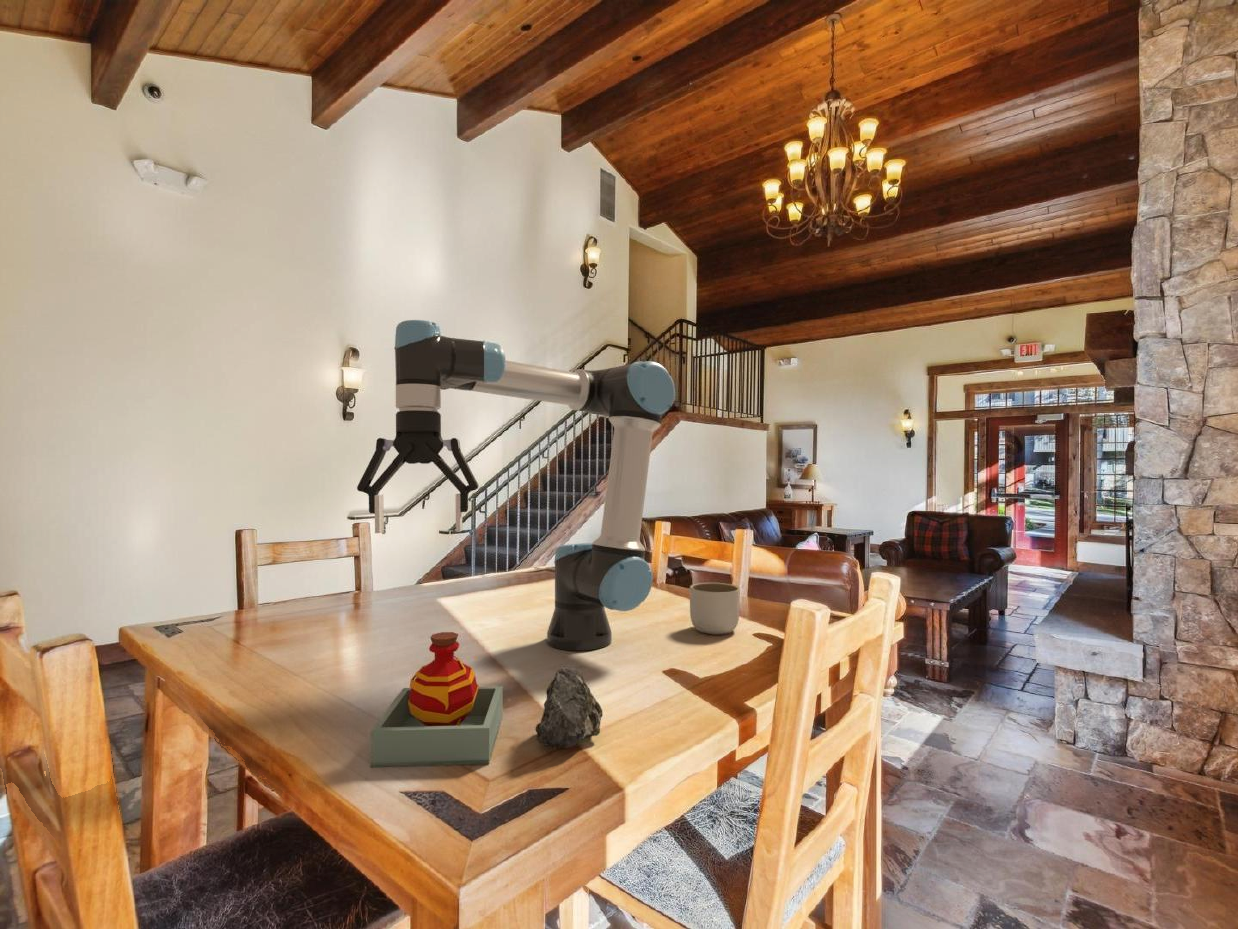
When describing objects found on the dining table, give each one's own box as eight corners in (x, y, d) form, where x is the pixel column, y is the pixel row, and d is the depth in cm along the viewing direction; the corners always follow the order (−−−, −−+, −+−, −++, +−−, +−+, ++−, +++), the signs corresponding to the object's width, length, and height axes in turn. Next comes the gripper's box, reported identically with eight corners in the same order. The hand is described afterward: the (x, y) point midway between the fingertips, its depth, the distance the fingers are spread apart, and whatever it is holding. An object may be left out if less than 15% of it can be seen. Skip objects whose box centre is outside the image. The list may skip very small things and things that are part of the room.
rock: (538, 703, 100) (555, 655, 96) (595, 718, 100) (613, 671, 97) (526, 764, 88) (544, 712, 85) (589, 781, 89) (610, 730, 86)
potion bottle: (491, 726, 96) (492, 630, 96) (452, 755, 86) (453, 649, 86) (434, 716, 99) (435, 624, 99) (391, 744, 89) (392, 641, 89)
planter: (703, 621, 163) (704, 580, 163) (747, 629, 156) (747, 586, 156) (680, 632, 153) (680, 588, 153) (726, 640, 145) (726, 594, 145)
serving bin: (502, 716, 101) (502, 686, 101) (489, 764, 85) (489, 728, 85) (403, 718, 100) (403, 688, 100) (370, 767, 84) (370, 730, 84)
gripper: (492, 412, 113) (493, 527, 113) (351, 412, 110) (352, 530, 110) (488, 409, 105) (489, 532, 105) (336, 408, 102) (338, 535, 103)
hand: (419, 531), depth 108 cm, fingers open, 13 cm apart
